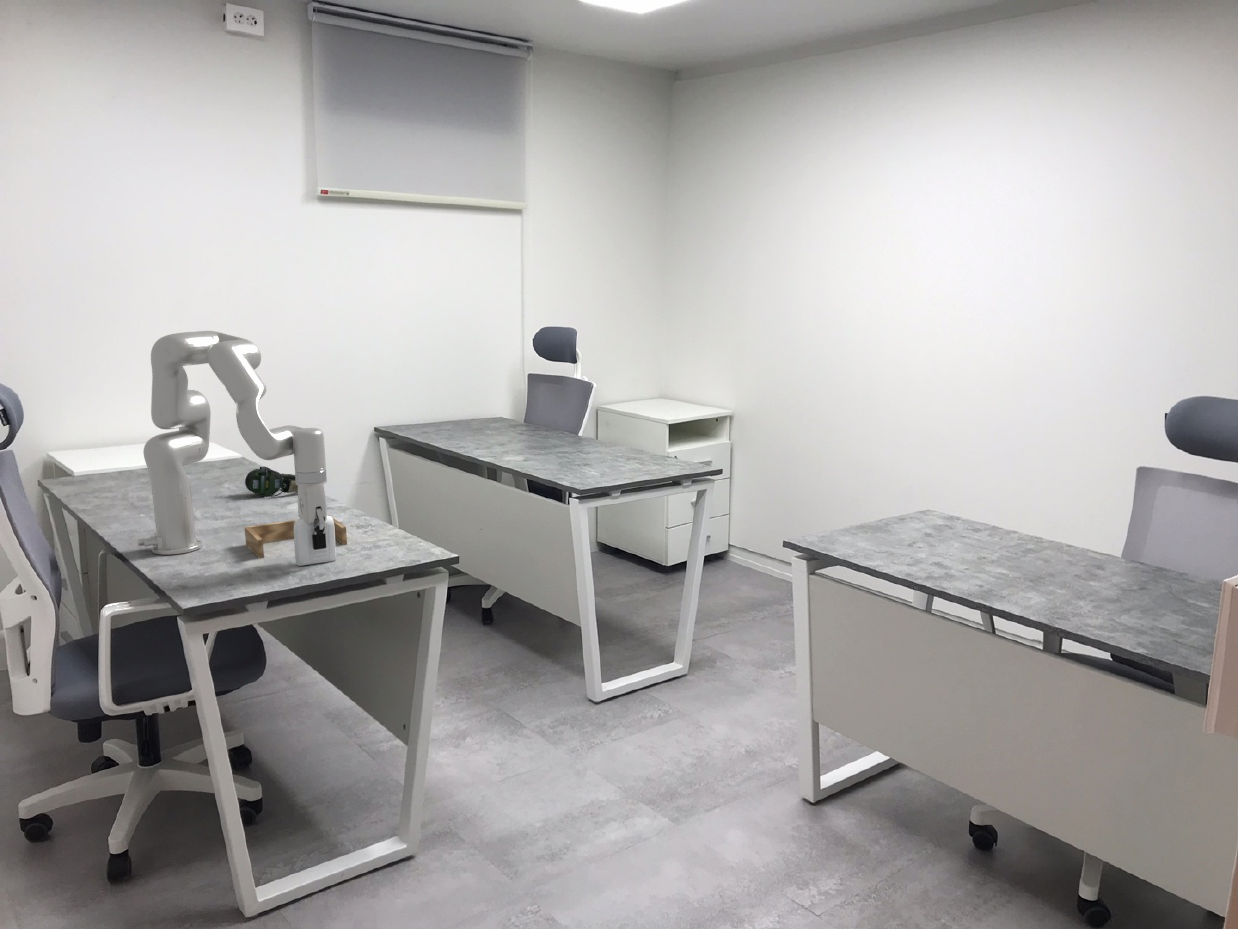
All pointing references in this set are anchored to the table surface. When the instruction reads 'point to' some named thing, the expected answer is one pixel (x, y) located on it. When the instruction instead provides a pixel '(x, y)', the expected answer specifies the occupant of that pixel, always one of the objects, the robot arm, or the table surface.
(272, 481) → the headphones
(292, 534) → the open box
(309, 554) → the photo printer
